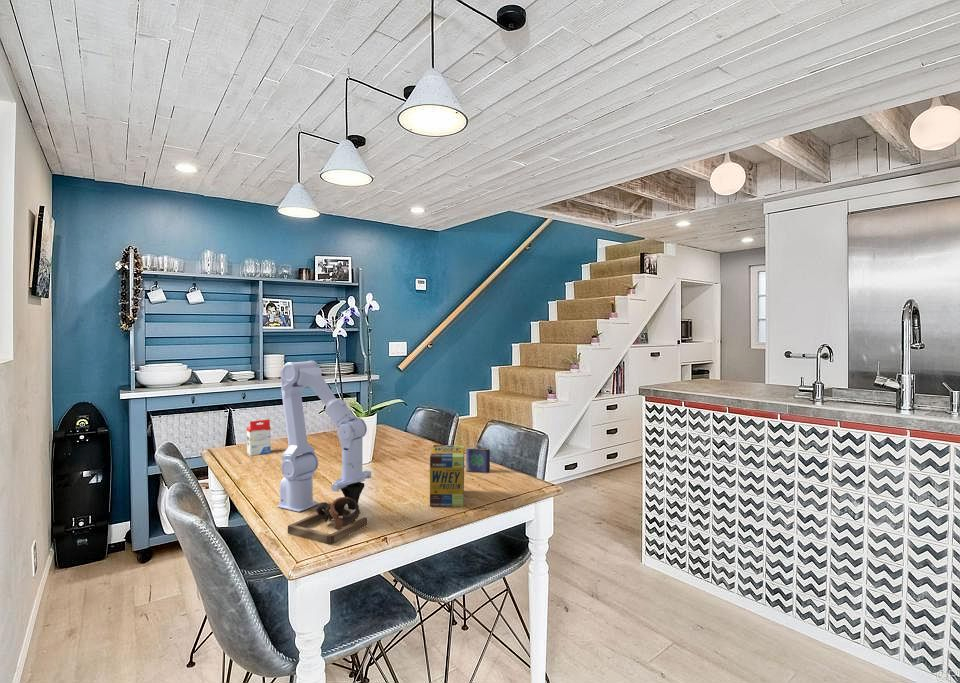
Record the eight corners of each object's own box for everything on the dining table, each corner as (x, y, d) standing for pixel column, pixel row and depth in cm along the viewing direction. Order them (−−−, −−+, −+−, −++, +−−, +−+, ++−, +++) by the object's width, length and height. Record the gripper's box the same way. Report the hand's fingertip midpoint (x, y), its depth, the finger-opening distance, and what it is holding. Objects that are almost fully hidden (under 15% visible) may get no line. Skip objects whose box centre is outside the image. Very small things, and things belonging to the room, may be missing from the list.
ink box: (267, 450, 218) (267, 417, 218) (270, 453, 214) (270, 419, 214) (246, 453, 213) (246, 419, 212) (249, 456, 209) (249, 421, 209)
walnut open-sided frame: (287, 533, 131) (287, 525, 130) (326, 515, 143) (326, 508, 143) (330, 544, 124) (330, 536, 124) (367, 525, 136) (367, 517, 136)
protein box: (429, 507, 150) (429, 456, 150) (433, 490, 166) (433, 444, 165) (463, 507, 151) (464, 456, 150) (464, 490, 166) (464, 444, 166)
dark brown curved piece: (359, 517, 143) (364, 496, 140) (352, 544, 135) (357, 523, 131) (317, 508, 142) (322, 487, 138) (307, 535, 133) (312, 513, 129)
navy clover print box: (465, 471, 188) (465, 443, 187) (466, 469, 191) (467, 442, 190) (489, 473, 186) (489, 445, 186) (490, 471, 189) (490, 443, 189)
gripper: (345, 470, 133) (345, 520, 133) (379, 457, 146) (379, 503, 146) (325, 466, 136) (325, 515, 137) (360, 454, 149) (360, 499, 150)
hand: (352, 509), depth 142 cm, fingers closed
